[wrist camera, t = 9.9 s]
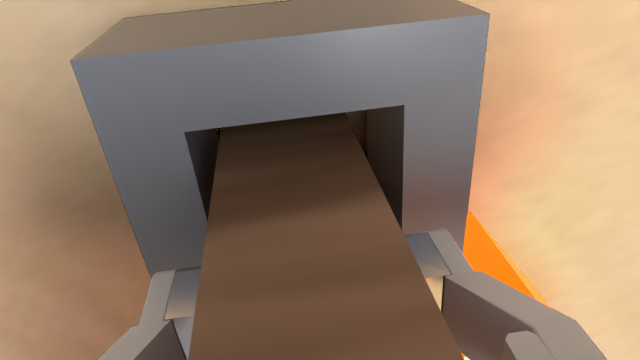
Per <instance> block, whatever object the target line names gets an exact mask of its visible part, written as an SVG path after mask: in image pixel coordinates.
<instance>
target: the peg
mask: <svg viewBox="0 0 640 360" xmlns="http://www.w3.org/2000/svg"><path fill="white" fill-rule="evenodd" d="M188 360H464V358H463V356H462V354H461V352H460V350H459V348H458V346H457V344H456V342H455V340H454V337H453V335H452V333H451V331H450V329H449V327H448V325H447V323H446V321H445V319H444V317H443V315H442V313H441V311H440V309H439V307H438V304H437V302H436V300H435V298H434V296H433V294H432V292H431V290H430V288H429V286H428V284H427V282H426V280H425V278H424V276H423V273H422V271H421V269H420V267H419V265H418V263H417V261H416V259H415V257H414V255H413V253H412V251H411V249H410V247H409V245H408V243H407V240H406V238H405V236H404V234H403V232H402V230H401V228H400V226H399V224H398V222H397V220H396V218H395V216H394V214H393V212H392V209H391V207H390V205H389V203H388V201H387V199H386V197H385V195H384V193H383V191H382V189H381V187H380V185H379V183H378V181H377V179H376V176H375V174H374V172H373V170H372V168H371V166H370V164H369V162H368V160H367V158H366V156H365V154H364V152H363V150H362V148H361V145H360V143H359V141H358V139H357V137H356V135H355V133H354V131H353V129H352V127H351V125H350V123H349V121H348V119H347V117H346V115H345V112H343V113H335V114H327V115H319V116H311V117H303V118H295V119H287V120H279V121H271V122H262V123H254V124H246V125H238V126H230V127H222V128H221V133H220V139H219V146H218V153H217V160H216V167H215V174H214V181H213V188H212V195H211V202H210V209H209V216H208V223H207V230H206V237H205V244H204V251H203V258H202V265H201V272H200V279H199V286H198V293H197V300H196V307H195V314H194V321H193V328H192V335H191V342H190V349H189V356H188Z"/></svg>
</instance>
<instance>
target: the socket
mask: <svg viewBox="0 0 640 360" xmlns="http://www.w3.org/2000/svg"><path fill="white" fill-rule="evenodd" d="M489 19H490V14H489V13H487V12H485V11H482V10H480V9H477V8H475V7H472V6H470V5H467V4H465V3H462V2H460V1H458V0H291V1H282V2H272V3H263V4H253V5H244V6H234V7H225V8H215V9H206V10H196V11H187V12H177V13H168V14H158V15H149V16H139V17H130V18H124V19H122V20H121V21H120V22H119V23H117V24H116V25H115V26H113V27H112V28H111V29H110V30H108V31H107V32H106V33H104V34H103V35H102V36H101V37H99V38H98V39H97V40H95V41H94V42H93V43H92V44H90V45H89V46H88V47H86V48H85V49H84V50H83V51H81V52H80V53H79V54H77V55H76V56H75V57H74V58H72V59H71V60H70V62H71V65H72V68H73V70H74V73H75V76H76V78H77V81H78V84H79V86H80V89H81V92H82V95H83V97H84V100H85V103H86V105H87V108H88V111H89V113H90V116H91V119H92V121H93V124H94V127H95V129H96V132H97V135H98V138H99V140H100V143H101V146H102V148H103V151H104V154H105V156H106V159H107V162H108V164H109V167H110V170H111V173H112V175H113V178H114V181H115V183H116V186H117V189H118V191H119V194H120V197H121V199H122V202H123V205H124V207H125V210H126V213H127V216H128V218H129V221H130V224H131V226H132V229H133V232H134V234H135V237H136V240H137V242H138V245H139V248H140V251H141V253H142V256H143V259H144V261H145V264H146V267H147V269H148V272H149V275H150V277H151V279H152V276H153V275H154V274H155V273H156V272H161V271H168V270H177V269H181V268H189V267H197V266H201V265H202V258H203V251H204V244H205V237H206V230H207V223H208V216H209V209H210V202H211V195H212V188H213V181H214V174H215V167H216V160H217V153H218V146H219V144H218V139H217V135H216V130H215V128H222V127H230V126H238V125H246V124H254V123H262V122H271V121H279V120H287V119H295V118H303V117H311V116H319V115H327V114H335V113H343V112H351V111H359V110H366V128H367V160H368V162H369V164H370V166H371V168H372V170H373V172H374V174H375V176H376V179H377V181H378V183H379V185H380V187H381V189H382V191H383V193H384V195H385V197H386V199H387V201H388V203H389V205H390V207H391V209H392V212H393V214H394V216H395V218H396V220H397V222H398V224H399V226H400V228H401V230H402V232H403V234H404V235H411V234H417V233H423V232H424V233H425V232H426V231H432V230H438V229H443V228H445V229H447V230H448V231H449V233H450V234H451V236H452V237H453V239H454V241H455V242H456V244H457V245H458V247H459V248H460V250H461V252H462V253H463V247H464V239H465V230H466V221H467V212H468V203H469V195H470V186H471V177H472V168H473V159H474V151H475V142H476V133H477V124H478V115H479V107H480V98H481V89H482V80H483V71H484V63H485V54H486V45H487V36H488V27H489Z"/></svg>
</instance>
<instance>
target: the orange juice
mask: <svg viewBox="0 0 640 360" xmlns="http://www.w3.org/2000/svg"><path fill="white" fill-rule="evenodd" d="M463 255H464V256H465V258H466V259H467V261H468V262H469V264H470V266H471V267H472V269H473V270H474V271H482V272H484V273H486V274H488V275H490V276H491V277H493V278H495V279H497V280H499V281H501V282H503V283H505V284H507V285H509V286H511V287H512V288H514V289H516V290H518V291H520V292H522V293H524V294H526V295H528V296H530V297H532V298H534V299H535V300H537V301H539V302H541V303H543V304H545V305H547V306H549V304H548V303H547V302H546V301H545V299H544V298H543V297H542V296H541V295H540V293H539V292H538V291H537V290H536V289H535V287H534V286H533V285H532V284H531V283H530V282H529V280H528V279H527V278H526V277H525V276H524V274H523V273H522V272H521V271H520V270H519V268H518V267H517V266H516V265H515V264H514V262H513V261H512V260H511V259H510V258H509V256H508V255H507V254H506V253H505V252H504V250H503V249H502V248H501V247H500V246H499V245H498V243H497V242H496V241H495V240H494V239H493V237H492V236H491V235H490V234H489V233H488V231H487V230H486V229H485V228H484V227H483V225H482V224H481V223H480V222H479V221H478V219H477V218H476V217H475V216H474V215H473V213H472V212H470V213H469V214H467V221H466V230H465V239H464V247H463ZM549 307H550V306H549ZM461 354H462V356H463V358H464V360H470V359H469V358H467V357H466V356H465V355H464V354H463V353H461Z"/></svg>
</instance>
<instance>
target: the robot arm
mask: <svg viewBox="0 0 640 360" xmlns="http://www.w3.org/2000/svg"><path fill="white" fill-rule="evenodd" d="M404 236H405V238H406V240H407V243H408V245H409V247H410V249H411V251H412V253H413V255H414V257H415V259H416V261H417V263H418V265H419V267H420V269H421V271H422V273H423V276H424V278H425V280H426V282H427V284H428V286H429V288H430V290H431V292H432V294H433V296H434V298H435V300H436V302H437V304H438V307H439V309H440V311H441V313H442V315H443V317H444V319H445V321H446V323H447V325H448V327H449V329H450V331H451V333H452V335H453V337H454V340H455V342H456V344H457V346H458V348H459V350H460V352H461V353H463V354H464V355H465V356H466V357H467V358H469V359H470V360H607V358H606V357H605V356H604V355H603V354H602V352H601V351H600V350H599V349H598V347H597V346H596V345H595V344H594V342H593V341H592V340H591V339H590V337H589V336H588V335H587V334H586V332H585V331H584V330H583V329H582V327H581V326H580V325H579V324H578V322H577V321H576V320H574V319H572V318H570V317H568V316H566V315H564V314H562V313H560V312H558V311H556V310H555V309H553V308H551V307H549V306H547V305H545V304H543V303H541V302H539V301H537V300H535V299H534V298H532V297H530V296H528V295H526V294H524V293H522V292H520V291H518V290H516V289H514V288H512V287H511V286H509V285H507V284H505V283H503V282H501V281H499V280H497V279H495V278H493V277H491V276H490V275H488V274H486V273H484V272H482V271H474V270H473V269H472V267H471V266H470V264H469V262H468V261H467V259H466V258H465V256H464V255H463V253H462V252H461V250H460V248H459V247H458V245H457V244H456V242H455V241H454V239H453V237H452V236H451V234H450V233H449V231H448V230H447V229H445V228H443V229H438V230H432V231H426V232H425V233H424V232H423V233H417V234H411V235H404ZM200 272H201V266H197V267H189V268H181V269H177V270H168V271H161V272H156V273H155V274H154V275H153V276H152V279H151V283H150V286H149V290H148V293H147V297H146V300H145V304H144V308H143V311H142V315H141V318H140V322H139V325H135V326H132V327H131V328H130V329H129V330H128V331H126V332H125V333H124V334H123V335H122V336H121V337H120V338H119V339H118V340H117V341H116V342H115V343H114V344H113V345H112V346H111V347H110V348H109V349H108V350H107V351H106V352H105V353H104V354H103V355H102V356H101V357H100V358H99V359H98V360H188V356H189V349H190V342H191V335H192V328H193V321H194V314H195V307H196V300H197V293H198V286H199V279H200Z"/></svg>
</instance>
